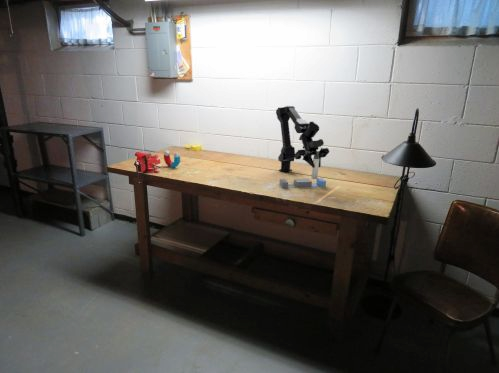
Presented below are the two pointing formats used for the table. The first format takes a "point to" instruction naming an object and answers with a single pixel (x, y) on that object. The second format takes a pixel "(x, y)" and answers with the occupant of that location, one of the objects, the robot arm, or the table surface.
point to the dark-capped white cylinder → (316, 164)
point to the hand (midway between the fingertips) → (316, 167)
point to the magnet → (168, 160)
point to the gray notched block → (303, 183)
